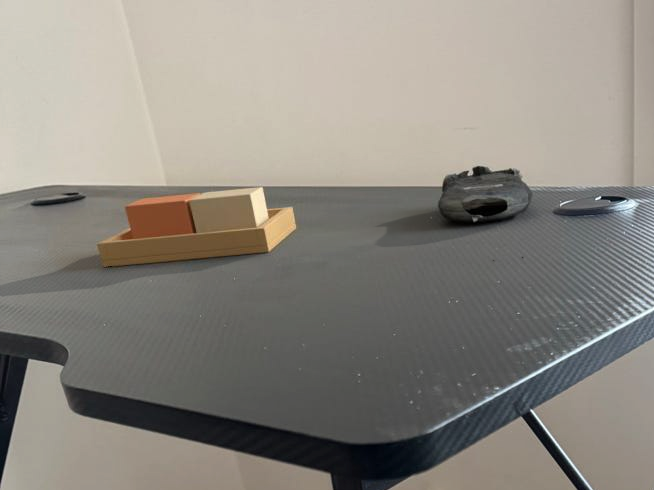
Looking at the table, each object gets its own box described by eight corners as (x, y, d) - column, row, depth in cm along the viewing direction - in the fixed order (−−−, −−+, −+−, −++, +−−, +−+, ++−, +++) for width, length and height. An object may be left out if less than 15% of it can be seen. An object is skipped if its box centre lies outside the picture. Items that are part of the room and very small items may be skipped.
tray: (103, 267, 88) (96, 243, 87) (148, 242, 98) (142, 221, 97) (269, 252, 86) (264, 227, 85) (296, 228, 97) (292, 206, 96)
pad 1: (136, 250, 90) (124, 206, 88) (153, 241, 95) (141, 198, 92) (195, 245, 90) (184, 200, 88) (210, 236, 94) (200, 192, 92)
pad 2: (199, 245, 90) (188, 200, 88) (213, 235, 94) (203, 192, 92) (259, 239, 89) (250, 194, 87) (271, 230, 94) (262, 186, 91)
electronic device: (436, 221, 101) (438, 222, 87) (437, 164, 99) (439, 156, 85) (521, 224, 102) (536, 226, 88) (524, 168, 99) (539, 160, 86)
